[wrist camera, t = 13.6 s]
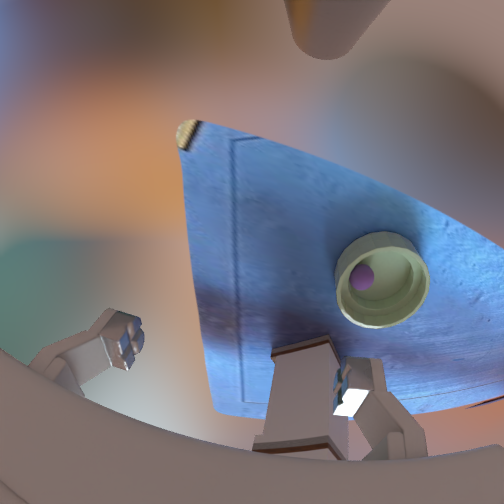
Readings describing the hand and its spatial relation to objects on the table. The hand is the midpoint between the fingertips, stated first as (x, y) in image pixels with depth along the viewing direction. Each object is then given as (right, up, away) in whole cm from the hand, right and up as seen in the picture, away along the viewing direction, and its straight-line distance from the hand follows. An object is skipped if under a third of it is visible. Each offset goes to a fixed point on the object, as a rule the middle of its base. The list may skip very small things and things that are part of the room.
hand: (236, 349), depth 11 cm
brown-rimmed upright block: (+11, -16, +40) cm, 45 cm away
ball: (+16, 0, +28) cm, 32 cm away
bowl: (+19, +1, +29) cm, 35 cm away
